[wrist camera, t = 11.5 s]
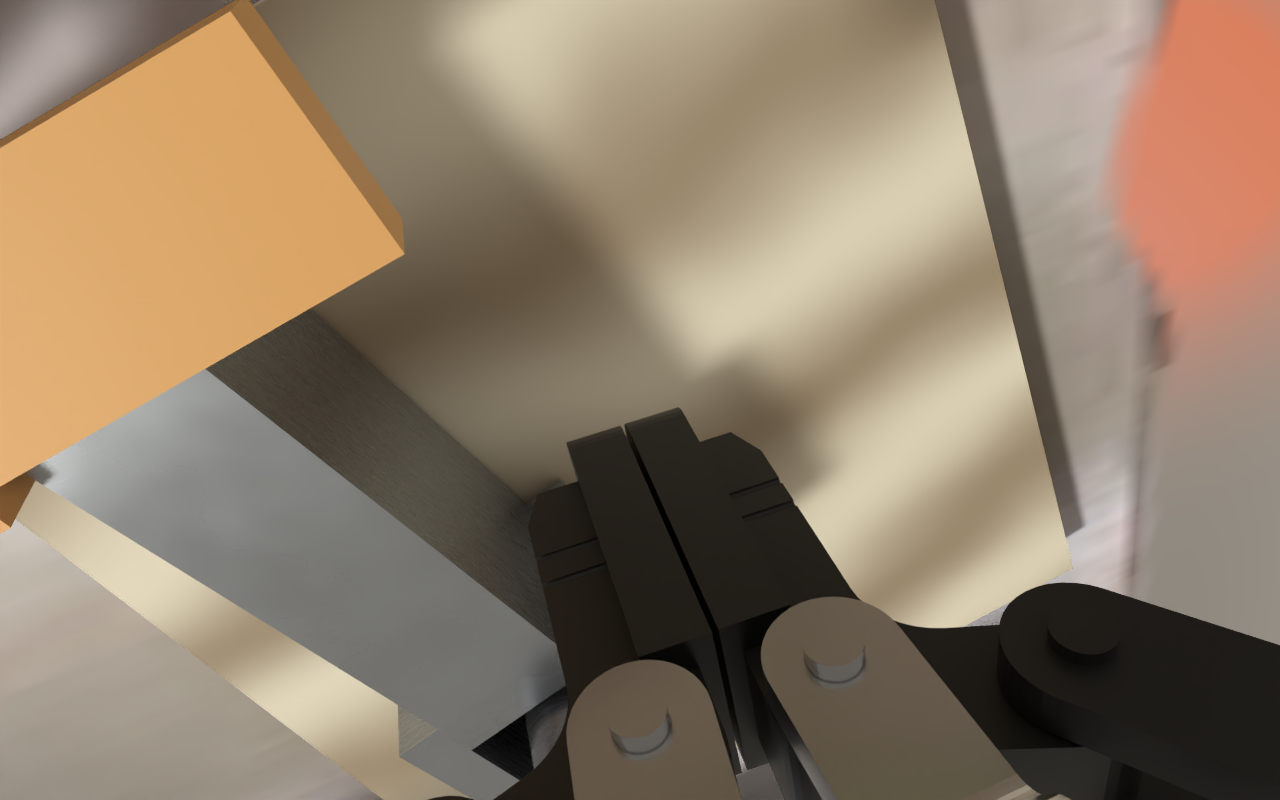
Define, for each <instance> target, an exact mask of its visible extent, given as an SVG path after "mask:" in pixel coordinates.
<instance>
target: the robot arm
mask: <svg viewBox="0 0 1280 800" xmlns="http://www.w3.org/2000/svg"><path fill="white" fill-rule="evenodd" d="M624 426H625V433H626V435H625V433H624V431H623V429H622V427H621V426H617V427H614V428H611V429H608V430H604V431H601V432H598V433H595V434H592V435H589V436H585V437H582V438H579V439H576V440H573V441H569V442H566V444H567V448H568V451H569V455H570V458H571V462H572V465H573V468H574V472H575V475H576V478H577V482H574V483H570V484H567V485H564V486H561V487H558V488H555V489H552V490H549V491H545V492H542V493H539V494H538V495H537V498H536V501H535V504H534V508H533V511H532V514H531V518H530V521H529V524H528V529H529V533H530V537H531V542H532V546H533V550H534V554H535V558H536V561H537V567H538V571H539V575H540V579H541V583H542V586H543V592H544V596H545V600H546V604H547V608H548V612H549V617H550V621H551V625H552V629H553V633H554V637H555V642H556V646H557V650H558V654H559V658H560V662H561V667H562V671H563V675H564V679H565V683H566V688H567V695H568V710H567V714H566V719H565V723H564V726H563V728H562V731H561V734H560V735H559V737H558V739H557V741H556V743H555V745H554V746H553V748H552V749H551V750H550V752H549V753H548V754H547V756H546V757H545V758H544V759H543V760H542V761H541V762H540V764H539V765H538V766H537V767H536V768H535V769H533V770H532V771H531V772H530V773H529V774H527V775H526V776H525V777H524V778H522V779H521V780H520V781H518V782H517V783H515V784H514V785H513V786H511V787H510V788H509V789H507V790H506V791H504V792H503V793H502V794H500V795H499V796H498V797H496V798H495V799H493V800H742V799H741V796H740V793H739V788H738V784H737V779H736V775H737V774H740V773H742V771H741V767H740V762H739V757H738V753H737V748H736V744H737V746H738V749H739V751H740V753H741V756H742V758H743V761H744V763H745V766H746V768H747V770H749V769H752V768H755V767H758V766H760V765H763V764H766V763H768V762H769V764H770V766H771V768H772V771H773V773H774V775H775V778H776V780H777V782H778V784H779V787H780V789H781V791H782V794H783V796H784V800H1280V645H1277V644H1274V643H1271V642H1268V641H1264V640H1261V639H1259V638H1255V637H1252V636H1249V635H1246V634H1243V633H1240V632H1236V631H1233V630H1230V629H1227V628H1224V627H1221V626H1218V625H1215V624H1212V623H1209V622H1205V621H1202V620H1199V619H1196V618H1193V617H1190V616H1187V615H1184V614H1181V613H1177V612H1174V611H1171V610H1168V609H1165V608H1162V607H1159V606H1156V605H1153V604H1149V603H1146V602H1143V601H1140V600H1137V599H1134V598H1131V597H1128V596H1125V595H1121V594H1118V593H1115V592H1112V591H1109V590H1106V589H1103V588H1099V587H1095V586H1091V585H1086V584H1079V583H1053V584H1046V585H1042V586H1038V587H1035V588H1032V589H1030V590H1028V591H1025V592H1024V593H1022V594H1021V595H1019V596H1017V597H1016V598H1015V599H1014V600H1013V601H1012V602H1011V603H1010V604H1009V605H1008V606H1007V608H1006V609H1005V611H1004V612H1003V615H1002V618H1001V620H1000V625H991V626H972V627H953V628H925V627H917V626H912V625H908V624H904V623H900V622H897V621H895V620H893V619H892V618H891V617H890V616H888V615H887V614H886V613H884V612H883V611H882V610H880V609H878V608H876V607H874V606H873V605H871V604H868V603H865V602H863V601H861V600H860V599H859V598H858V597H857V596H856V594H855V593H854V592H853V590H852V589H851V588H850V586H849V585H848V583H847V582H846V580H845V579H844V577H843V576H842V574H841V572H840V571H839V569H838V568H837V566H836V565H835V563H834V562H833V560H832V559H831V557H830V555H829V554H828V552H827V551H826V549H825V548H824V546H823V545H822V543H821V542H820V540H819V539H818V537H817V535H816V534H815V532H814V531H813V529H812V528H811V526H810V525H809V523H808V522H807V520H806V519H805V517H804V515H803V514H802V512H801V511H800V509H799V508H798V506H795V504H794V501H793V498H792V497H791V495H790V494H789V492H788V491H787V489H786V488H785V486H784V485H783V483H780V480H779V477H778V475H777V474H776V472H775V471H774V469H773V468H772V466H771V465H770V463H769V462H768V460H767V458H766V457H765V455H764V454H763V452H762V451H761V450H760V449H758V448H756V447H755V446H753V445H751V444H750V443H748V442H746V441H745V440H743V439H741V438H740V437H738V436H736V435H735V434H733V433H731V432H729V433H726V434H723V435H720V436H717V437H713V438H710V439H707V440H704V441H701V442H699V440H698V438H697V436H696V434H695V433H694V431H693V429H692V427H691V426H690V424H689V422H688V420H687V418H686V417H685V415H684V413H683V411H682V410H681V409H680V408H679V407H677V408H674V409H671V410H667V411H664V412H661V413H658V414H655V415H651V416H648V417H645V418H642V419H639V420H636V421H632V422H629V423H626V424H625V425H624ZM626 437H627V438H626ZM735 741H736V743H735ZM428 800H474V799H471V798H466V797H462V796H442V797H435V798H432V799H428Z"/></svg>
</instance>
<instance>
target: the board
mask: <svg viewBox="0 0 1280 800" xmlns="http://www.w3.org/2000/svg"><path fill="white" fill-rule="evenodd" d="M253 6H254V8H255V9H256V11H257V12H258V14H259V15H260V16H261V18H262V19H263V21H264V22H265V24H266V25H267V26H268V28H269V29H270V31H271V32H272V33H273V35H274V36H275V38H276V39H277V41H278V42H279V43H280V45H281V46H282V48H283V49H284V51H285V52H286V53H287V55H288V56H289V58H290V59H291V61H292V62H293V63H294V65H295V66H296V68H297V69H298V71H299V72H300V73H301V75H302V76H303V78H304V79H305V81H306V82H307V83H308V85H309V86H310V88H311V89H312V91H313V92H314V93H315V95H316V96H317V98H318V99H319V101H320V102H321V103H322V105H323V106H324V108H325V109H326V111H327V112H328V113H329V115H330V116H331V118H332V119H333V121H334V122H335V123H336V125H337V126H338V128H339V129H340V131H341V132H342V133H343V135H344V136H345V138H346V139H347V141H348V142H349V143H350V145H351V146H352V148H353V149H354V151H355V152H356V153H357V155H358V156H359V158H360V159H361V161H362V162H363V163H364V165H365V166H366V168H367V169H368V171H369V172H370V173H371V175H372V176H373V178H374V179H375V180H376V182H377V183H378V185H379V186H380V188H381V189H382V190H383V192H384V193H385V195H386V196H387V198H388V199H389V200H390V202H391V203H392V205H393V206H394V208H395V209H396V210H397V212H398V213H399V215H400V216H401V218H402V222H403V236H404V250H405V254H404V255H402V256H401V257H399V258H397V259H395V260H394V261H392V262H390V263H388V264H387V265H385V266H383V267H381V268H380V269H378V270H376V271H374V272H373V273H371V274H369V275H367V276H366V277H364V278H362V279H360V280H359V281H357V282H355V283H354V284H352V285H350V286H348V287H347V288H345V289H343V290H341V291H340V292H338V293H336V294H334V295H333V296H331V297H329V298H327V299H326V300H324V301H322V302H320V303H319V304H317V305H315V306H313V307H312V308H310V309H312V310H313V311H314V312H315V313H316V314H317V315H318V316H319V317H320V318H322V319H323V320H324V321H325V322H326V323H327V324H328V325H329V326H330V327H331V328H333V329H334V330H335V331H336V332H337V333H338V334H339V335H340V336H341V337H343V338H344V339H345V340H346V341H347V342H348V343H349V344H350V345H351V346H353V347H354V348H355V349H356V350H357V351H358V352H359V353H360V354H361V355H362V356H364V357H365V358H366V359H367V360H368V361H369V362H370V363H371V364H372V365H374V366H375V367H376V368H377V369H378V370H379V371H380V372H381V373H382V374H384V375H385V376H386V377H387V378H388V379H389V380H390V381H391V382H392V383H393V384H395V385H396V386H397V387H398V388H399V389H400V390H401V391H402V392H403V393H405V394H406V395H407V396H408V397H409V398H410V399H411V400H412V401H413V402H415V403H416V404H417V405H418V406H419V407H420V408H421V409H422V410H423V411H424V412H426V413H427V414H428V415H429V416H430V417H431V418H432V419H433V420H434V421H436V422H437V423H438V424H439V425H440V426H441V427H442V428H443V429H444V430H446V431H447V432H448V433H449V434H450V435H451V436H452V437H453V438H454V439H455V440H457V441H458V442H459V443H460V444H461V445H462V446H463V447H464V448H465V449H467V450H468V451H469V452H470V453H471V454H472V455H473V456H474V457H475V458H477V459H478V460H479V461H480V462H481V463H482V464H483V465H484V466H485V467H486V468H488V469H489V470H490V471H491V472H492V473H493V474H494V475H495V476H496V477H498V478H499V479H500V480H501V481H502V482H503V483H504V484H505V485H506V486H508V487H509V488H510V489H511V490H512V491H513V492H514V493H515V494H516V495H517V496H519V497H520V498H521V499H522V500H523V501H524V502H525V503H526V502H528V501H529V500H530V499H532V498H533V497H534V496H536V495H537V494H539V493H540V492H541V491H543V490H544V489H545V488H547V487H548V486H549V485H551V484H552V483H554V482H555V481H556V480H558V479H559V478H560V479H561V480H562V481H563V482H564V483H565V484H566V485H567V484H570V483H574V482H577V478H576V475H575V472H574V468H573V465H572V462H571V458H570V455H569V451H568V448H567V444H566V442H569V441H573V440H576V439H579V438H582V437H585V436H589V435H592V434H595V433H598V432H601V431H604V430H608V429H611V428H614V427H617V426H621V427H622V429H623V431H624V433H625V426H624V425H625V424H626V423H629V422H632V421H636V420H639V419H642V418H645V417H648V416H651V415H655V414H658V413H661V412H664V411H667V410H671V409H674V408H677V407H679V408H680V409H681V410H682V411H683V413H684V415H685V417H686V418H687V420H688V422H689V424H690V426H691V427H692V429H693V431H694V433H695V434H696V436H697V438H698V440H699V442H701V441H704V440H707V439H710V438H713V437H717V436H720V435H723V434H726V433H729V432H731V433H733V434H735V435H736V436H738V437H740V438H741V439H743V440H745V441H746V442H748V443H750V444H751V445H753V446H755V447H756V448H758V449H760V450H761V451H762V452H763V454H764V455H765V457H766V458H767V460H768V462H769V463H770V465H771V466H772V468H773V469H774V471H775V472H776V474H777V475H778V477H779V480H780V483H783V485H784V486H785V488H786V489H787V491H788V492H789V494H790V495H791V497H792V498H793V501H794V504H795V506H798V508H799V509H800V511H801V512H802V514H803V515H804V517H805V519H806V520H807V522H808V523H809V525H810V526H811V528H812V529H813V531H814V532H815V534H816V535H817V537H818V539H819V540H820V542H821V543H822V545H823V546H824V548H825V549H826V551H827V552H828V554H829V555H830V557H831V559H832V560H833V562H834V563H835V565H836V566H837V568H838V569H839V571H840V572H841V574H842V576H843V577H844V579H845V580H846V582H847V583H848V585H849V586H850V588H851V589H852V590H853V592H854V593H855V594H856V596H857V597H858V598H859V599H860V600H861V601H863V602H865V603H868V604H871V605H873V606H874V607H876V608H878V609H880V610H882V611H883V612H884V613H886V614H887V615H888V616H890V617H891V618H892V619H893V620H895V621H897V622H900V623H904V624H908V625H912V626H917V627H925V628H953V627H964V626H966V625H968V624H970V623H972V622H973V621H975V620H977V619H979V618H981V617H983V616H985V615H987V614H988V613H990V612H992V611H994V610H996V609H998V608H1000V607H1001V606H1003V605H1005V604H1007V603H1009V602H1011V601H1013V600H1014V599H1015V598H1016V597H1017V596H1019V595H1021V594H1022V593H1024V592H1025V591H1028V590H1030V589H1032V588H1035V587H1038V586H1041V585H1043V584H1044V583H1046V582H1048V581H1050V580H1052V579H1054V578H1056V577H1058V576H1059V575H1061V574H1063V573H1065V572H1067V571H1069V570H1071V569H1073V566H1072V561H1071V557H1070V553H1069V549H1068V545H1067V541H1066V537H1065V533H1064V529H1063V525H1062V520H1061V516H1060V512H1059V508H1058V504H1057V500H1056V496H1055V492H1054V488H1053V484H1052V479H1051V475H1050V471H1049V467H1048V463H1047V459H1046V455H1045V451H1044V447H1043V443H1042V438H1041V434H1040V430H1039V426H1038V422H1037V418H1036V414H1035V410H1034V406H1033V402H1032V397H1031V393H1030V389H1029V385H1028V381H1027V377H1026V373H1025V369H1024V365H1023V361H1022V356H1021V352H1020V348H1019V344H1018V340H1017V336H1016V332H1015V328H1014V324H1013V319H1012V315H1011V311H1010V307H1009V303H1008V299H1007V295H1006V291H1005V287H1004V283H1003V278H1002V274H1001V270H1000V266H999V262H998V258H997V254H996V250H995V246H994V242H993V237H992V233H991V229H990V225H989V221H988V217H987V213H986V209H985V205H984V201H983V196H982V192H981V188H980V184H979V180H978V176H977V172H976V168H975V164H974V160H973V155H972V151H971V147H970V143H969V139H968V135H967V131H966V127H965V123H964V119H963V114H962V110H961V106H960V102H959V98H958V94H957V90H956V86H955V82H954V78H953V73H952V69H951V65H950V61H949V57H948V53H947V49H946V45H945V41H944V37H943V32H942V28H941V24H940V20H939V16H938V12H937V8H936V4H935V0H260V1H258V2H256V3H255V4H253ZM625 435H626V433H625ZM626 438H627V437H626ZM15 519H16V520H17V521H19V522H20V523H21V524H23V525H24V526H25V527H27V528H28V529H29V530H31V531H32V532H33V533H35V534H36V535H37V536H38V537H40V538H41V539H42V540H44V541H45V542H46V543H48V544H49V545H50V546H52V547H53V548H54V549H55V550H57V551H58V552H59V553H61V554H62V555H63V556H65V557H66V558H67V559H69V560H70V561H71V562H72V563H74V564H75V565H76V566H78V567H79V568H80V569H82V570H83V571H84V572H86V573H87V574H88V575H89V576H91V577H92V578H93V579H95V580H96V581H97V582H99V583H100V584H101V585H103V586H104V587H105V588H107V589H108V590H109V591H110V592H112V593H113V594H114V595H116V596H117V597H118V598H120V599H121V600H122V601H124V602H125V603H126V604H127V605H129V606H130V607H131V608H133V609H134V610H135V611H137V612H138V613H139V614H141V615H142V616H143V617H144V618H146V619H147V620H148V621H150V622H151V623H152V624H154V625H155V626H156V627H158V628H159V629H160V630H161V631H163V632H164V633H165V634H167V635H168V636H169V637H171V638H172V639H173V640H175V641H176V642H177V643H178V644H180V645H181V646H182V647H184V648H185V649H186V650H188V651H189V652H190V653H192V654H193V655H194V656H196V657H197V658H198V659H199V660H201V661H202V662H203V663H205V664H206V665H207V666H209V667H210V668H211V669H213V670H214V671H215V672H216V673H218V674H219V675H220V676H222V677H223V678H224V679H226V680H227V681H228V682H230V683H231V684H232V685H233V686H235V687H236V688H237V689H239V690H240V691H241V692H243V693H244V694H245V695H247V696H248V697H249V698H250V699H252V700H253V701H254V702H256V703H257V704H258V705H260V706H261V707H262V708H264V709H265V710H266V711H268V712H269V713H270V714H271V715H273V716H274V717H275V718H277V719H278V720H279V721H281V722H282V723H283V724H285V725H286V726H287V727H288V728H290V729H291V730H292V731H294V732H295V733H296V734H298V735H299V736H300V737H302V738H303V739H304V740H305V741H307V742H308V743H309V744H311V745H312V746H313V747H315V748H316V749H317V750H319V751H320V752H321V753H322V754H324V755H325V756H326V757H328V758H329V759H330V760H332V761H333V762H334V763H336V764H337V765H338V766H339V767H341V768H342V769H343V770H345V771H346V772H347V773H349V774H350V775H351V776H353V777H354V778H355V779H357V780H358V781H359V782H360V783H362V784H363V785H364V786H366V787H367V788H368V789H370V790H371V791H372V792H374V793H375V794H376V795H377V796H379V797H380V798H381V799H383V800H428V799H432V798H435V797H442V796H462V797H466V798H470V797H468V796H466V795H464V794H463V793H461V792H459V791H458V790H456V789H454V788H452V787H451V786H449V785H447V784H445V783H444V782H442V781H440V780H438V779H437V778H435V777H433V776H431V775H430V774H428V773H426V772H424V771H423V770H421V769H419V768H417V767H416V766H414V765H412V764H410V763H409V762H407V761H405V760H403V759H402V758H400V757H399V731H398V705H397V704H395V703H394V702H392V701H391V700H389V699H387V698H386V697H384V696H383V695H381V694H379V693H378V692H376V691H375V690H373V689H371V688H370V687H368V686H366V685H365V684H363V683H362V682H360V681H358V680H357V679H355V678H354V677H352V676H350V675H349V674H347V673H345V672H344V671H342V670H341V669H339V668H337V667H336V666H334V665H333V664H331V663H329V662H328V661H326V660H324V659H323V658H321V657H320V656H318V655H316V654H315V653H313V652H312V651H310V650H308V649H307V648H305V647H303V646H302V645H300V644H299V643H297V642H295V641H294V640H292V639H291V638H289V637H287V636H286V635H284V634H282V633H281V632H279V631H278V630H276V629H274V628H273V627H271V626H270V625H268V624H266V623H265V622H263V621H261V620H260V619H258V618H257V617H255V616H253V615H252V614H250V613H249V612H247V611H245V610H244V609H242V608H241V607H239V606H237V605H236V604H234V603H232V602H231V601H229V600H228V599H226V598H224V597H223V596H221V595H220V594H218V593H216V592H215V591H213V590H211V589H210V588H208V587H207V586H205V585H203V584H202V583H200V582H199V581H197V580H195V579H194V578H192V577H190V576H189V575H187V574H186V573H184V572H182V571H181V570H179V569H178V568H176V567H174V566H173V565H171V564H169V563H168V562H166V561H165V560H163V559H161V558H160V557H158V556H157V555H155V554H153V553H152V552H150V551H148V550H147V549H145V548H144V547H142V546H140V545H139V544H137V543H136V542H134V541H132V540H131V539H129V538H128V537H126V536H124V535H123V534H121V533H119V532H118V531H116V530H115V529H113V528H111V527H110V526H108V525H107V524H105V523H103V522H102V521H100V520H98V519H97V518H95V517H94V516H92V515H90V514H89V513H87V512H86V511H84V510H82V509H81V508H79V507H77V506H76V505H74V504H73V503H71V502H69V501H68V500H66V499H65V498H63V497H61V496H60V495H58V494H56V493H55V492H53V491H52V490H50V489H48V488H47V487H45V486H44V485H42V484H40V483H39V482H37V481H35V483H34V485H33V486H32V488H31V490H30V492H29V494H28V496H27V498H26V500H25V501H24V503H23V505H22V507H21V509H20V511H19V513H18V515H17V516H16V518H15ZM735 743H736V741H735ZM736 748H738V746H737V744H736Z"/></svg>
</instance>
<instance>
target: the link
mask: <svg viewBox="0 0 1280 800" xmlns="http://www.w3.org/2000/svg"><path fill="white" fill-rule="evenodd" d="M24 474H26V475H27V476H29V477H31V478H32V479H34V480H35V481H37V482H39V483H40V484H42V485H44V486H45V487H47V488H48V489H50V490H52V491H53V492H55V493H56V494H58V495H60V496H61V497H63V498H65V499H66V500H68V501H69V502H71V503H73V504H74V505H76V506H77V507H79V508H81V509H82V510H84V511H86V512H87V513H89V514H90V515H92V516H94V517H95V518H97V519H98V520H100V521H102V522H103V523H105V524H107V525H108V526H110V527H111V528H113V529H115V530H116V531H118V532H119V533H121V534H123V535H124V536H126V537H128V538H129V539H131V540H132V541H134V542H136V543H137V544H139V545H140V546H142V547H144V548H145V549H147V550H148V551H150V552H152V553H153V554H155V555H157V556H158V557H160V558H161V559H163V560H165V561H166V562H168V563H169V564H171V565H173V566H174V567H176V568H178V569H179V570H181V571H182V572H184V573H186V574H187V575H189V576H190V577H192V578H194V579H195V580H197V581H199V582H200V583H202V584H203V585H205V586H207V587H208V588H210V589H211V590H213V591H215V592H216V593H218V594H220V595H221V596H223V597H224V598H226V599H228V600H229V601H231V602H232V603H234V604H236V605H237V606H239V607H241V608H242V609H244V610H245V611H247V612H249V613H250V614H252V615H253V616H255V617H257V618H258V619H260V620H261V621H263V622H265V623H266V624H268V625H270V626H271V627H273V628H274V629H276V630H278V631H279V632H281V633H282V634H284V635H286V636H287V637H289V638H291V639H292V640H294V641H295V642H297V643H299V644H300V645H302V646H303V647H305V648H307V649H308V650H310V651H312V652H313V653H315V654H316V655H318V656H320V657H321V658H323V659H324V660H326V661H328V662H329V663H331V664H333V665H334V666H336V667H337V668H339V669H341V670H342V671H344V672H345V673H347V674H349V675H350V676H352V677H354V678H355V679H357V680H358V681H360V682H362V683H363V684H365V685H366V686H368V687H370V688H371V689H373V690H375V691H376V692H378V693H379V694H381V695H383V696H384V697H386V698H387V699H389V700H391V701H392V702H394V703H395V704H397V705H398V731H399V757H400V758H402V759H403V760H405V761H407V762H409V763H410V764H412V765H414V766H416V767H417V768H419V769H421V770H423V771H424V772H426V773H428V774H430V775H431V776H433V777H435V778H437V779H438V780H440V781H442V782H444V783H445V784H447V785H449V786H451V787H452V788H454V789H456V790H458V791H459V792H461V793H463V794H464V795H466V796H468V797H470V798H471V799H474V800H493V799H495V798H496V797H498V796H499V795H500V794H502V793H503V792H504V791H506V790H507V789H509V788H510V787H511V786H513V785H514V784H515V783H517V782H518V781H520V780H521V779H522V778H524V777H525V776H526V775H527V774H529V773H530V772H531V771H532V770H533V769H534V767H533V761H532V755H531V749H530V743H529V737H528V732H527V726H526V720H525V713H526V712H528V711H529V710H531V709H532V708H534V707H535V706H536V705H538V704H539V703H541V702H542V701H544V700H545V699H547V698H548V697H549V696H551V695H552V694H554V693H555V692H557V691H558V690H560V689H561V688H562V687H564V686H565V685H566V683H565V679H564V675H563V671H562V667H561V662H560V658H559V654H558V650H557V646H556V642H555V637H554V633H553V629H552V625H551V621H550V617H549V612H548V608H547V604H546V600H545V596H544V592H543V586H542V583H541V579H540V575H539V571H538V567H537V561H536V558H535V554H534V550H533V546H532V542H531V537H530V533H529V529H528V524H529V521H530V518H531V514H532V511H533V508H534V504H535V501H536V498H537V495H538V494H537V495H536V496H534V497H533V498H532V499H530V500H529V501H528V502H526V503H525V502H524V501H523V500H522V499H521V498H520V497H519V496H517V495H516V494H515V493H514V492H513V491H512V490H511V489H510V488H509V487H508V486H506V485H505V484H504V483H503V482H502V481H501V480H500V479H499V478H498V477H496V476H495V475H494V474H493V473H492V472H491V471H490V470H489V469H488V468H486V467H485V466H484V465H483V464H482V463H481V462H480V461H479V460H478V459H477V458H475V457H474V456H473V455H472V454H471V453H470V452H469V451H468V450H467V449H465V448H464V447H463V446H462V445H461V444H460V443H459V442H458V441H457V440H455V439H454V438H453V437H452V436H451V435H450V434H449V433H448V432H447V431H446V430H444V429H443V428H442V427H441V426H440V425H439V424H438V423H437V422H436V421H434V420H433V419H432V418H431V417H430V416H429V415H428V414H427V413H426V412H424V411H423V410H422V409H421V408H420V407H419V406H418V405H417V404H416V403H415V402H413V401H412V400H411V399H410V398H409V397H408V396H407V395H406V394H405V393H403V392H402V391H401V390H400V389H399V388H398V387H397V386H396V385H395V384H393V383H392V382H391V381H390V380H389V379H388V378H387V377H386V376H385V375H384V374H382V373H381V372H380V371H379V370H378V369H377V368H376V367H375V366H374V365H372V364H371V363H370V362H369V361H368V360H367V359H366V358H365V357H364V356H362V355H361V354H360V353H359V352H358V351H357V350H356V349H355V348H354V347H353V346H351V345H350V344H349V343H348V342H347V341H346V340H345V339H344V338H343V337H341V336H340V335H339V334H338V333H337V332H336V331H335V330H334V329H333V328H331V327H330V326H329V325H328V324H327V323H326V322H325V321H324V320H323V319H322V318H320V317H319V316H318V315H317V314H316V313H315V312H314V311H313V310H312V309H308V310H307V311H305V312H303V313H301V314H300V315H298V316H296V317H294V318H293V319H291V320H289V321H287V322H286V323H284V324H282V325H280V326H279V327H277V328H275V329H273V330H272V331H270V332H268V333H267V334H265V335H263V336H261V337H260V338H258V339H256V340H254V341H253V342H251V343H249V344H247V345H246V346H244V347H242V348H240V349H239V350H237V351H235V352H233V353H232V354H230V355H228V356H226V357H225V358H223V359H221V360H220V361H218V362H216V363H214V364H213V365H211V366H209V367H207V368H206V369H204V370H202V371H200V372H199V373H197V374H195V375H193V376H192V377H190V378H188V379H186V380H185V381H183V382H181V383H179V384H178V385H176V386H174V387H173V388H171V389H169V390H167V391H166V392H164V393H162V394H160V395H159V396H157V397H155V398H153V399H152V400H150V401H148V402H146V403H145V404H143V405H141V406H139V407H138V408H136V409H134V410H133V411H131V412H129V413H127V414H126V415H124V416H122V417H120V418H119V419H117V420H115V421H113V422H112V423H110V424H108V425H106V426H105V427H103V428H101V429H99V430H98V431H96V432H94V433H92V434H91V435H89V436H87V437H86V438H84V439H82V440H80V441H79V442H77V443H75V444H73V445H72V446H70V447H68V448H66V449H65V450H63V451H61V452H59V453H58V454H56V455H54V456H52V457H51V458H49V459H47V460H45V461H44V462H42V463H40V464H39V465H37V466H35V467H33V468H32V469H30V470H28V471H26V472H25V473H24ZM564 485H566V484H565V483H564V482H563V481H562V480H561V479H560V478H559V479H558V480H556V481H555V482H554V483H552V484H551V485H549V486H548V487H547V488H545V489H544V490H543V491H541V492H540V493H542V492H545V491H549V490H552V489H555V488H558V487H561V486H564Z"/></svg>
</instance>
